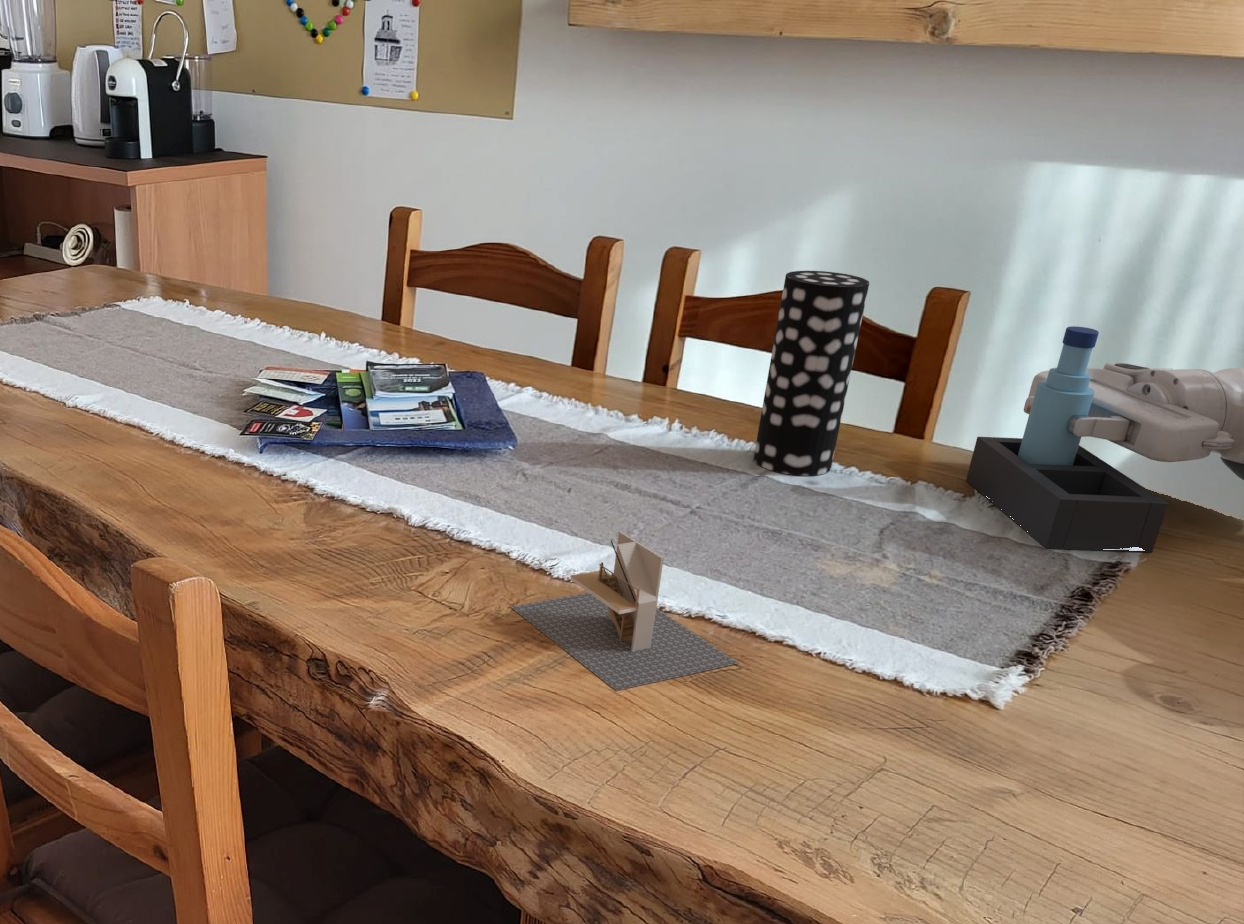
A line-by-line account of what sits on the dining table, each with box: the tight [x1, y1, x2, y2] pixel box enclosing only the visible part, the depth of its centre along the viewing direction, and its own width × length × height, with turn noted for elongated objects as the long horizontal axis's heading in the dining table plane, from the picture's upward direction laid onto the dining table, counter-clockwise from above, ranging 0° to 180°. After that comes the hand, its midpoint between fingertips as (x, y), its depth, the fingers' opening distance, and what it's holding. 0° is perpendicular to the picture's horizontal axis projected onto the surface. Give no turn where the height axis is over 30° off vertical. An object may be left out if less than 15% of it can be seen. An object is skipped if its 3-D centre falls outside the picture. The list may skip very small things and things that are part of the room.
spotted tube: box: [752, 270, 870, 477], centre depth 134 cm, size 8×8×20 cm
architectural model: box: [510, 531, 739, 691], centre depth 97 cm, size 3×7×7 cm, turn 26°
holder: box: [965, 436, 1169, 554], centre depth 126 cm, size 10×19×5 cm, turn 0°
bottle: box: [1018, 325, 1100, 466], centre depth 127 cm, size 5×5×18 cm
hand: (1050, 416), depth 126 cm, fingers closed on bottle, 5 cm apart
